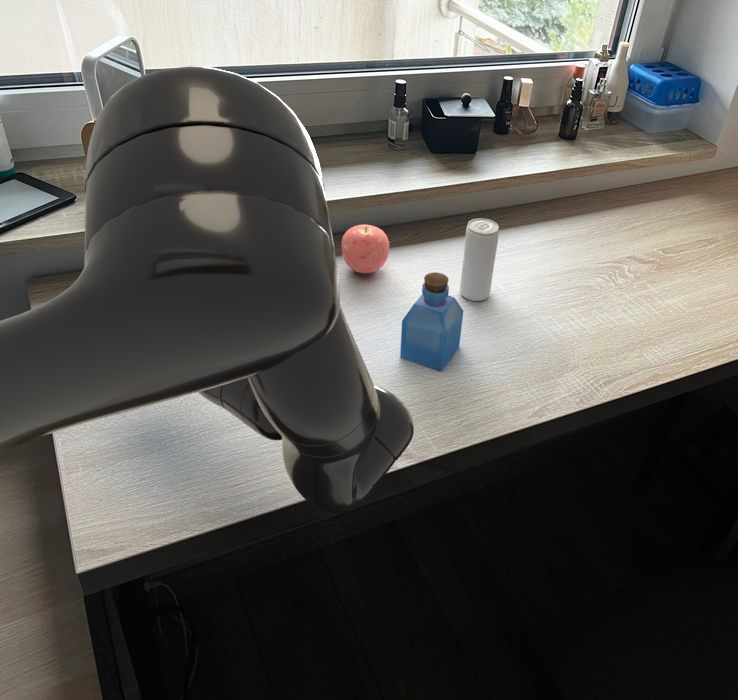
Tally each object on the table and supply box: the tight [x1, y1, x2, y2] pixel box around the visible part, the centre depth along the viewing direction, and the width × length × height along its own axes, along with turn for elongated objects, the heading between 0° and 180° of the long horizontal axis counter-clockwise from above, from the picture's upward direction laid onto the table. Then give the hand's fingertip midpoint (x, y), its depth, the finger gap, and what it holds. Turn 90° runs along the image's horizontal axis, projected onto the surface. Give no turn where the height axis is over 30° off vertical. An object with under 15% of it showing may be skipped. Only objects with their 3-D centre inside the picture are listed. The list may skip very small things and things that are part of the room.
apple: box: [341, 224, 390, 274], centre depth 112 cm, size 7×7×8 cm
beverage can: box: [459, 217, 500, 302], centre depth 109 cm, size 5×5×12 cm
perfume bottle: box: [399, 272, 464, 372], centre depth 97 cm, size 6×6×12 cm
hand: (112, 279), depth 72 cm, fingers closed on lid, 3 cm apart
